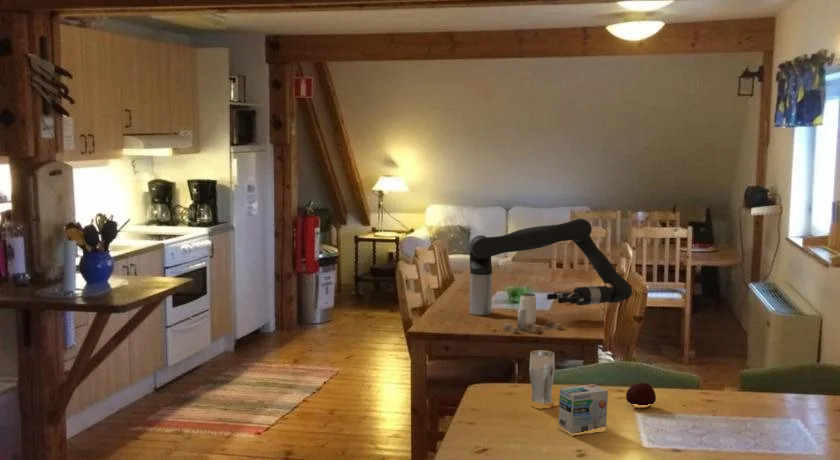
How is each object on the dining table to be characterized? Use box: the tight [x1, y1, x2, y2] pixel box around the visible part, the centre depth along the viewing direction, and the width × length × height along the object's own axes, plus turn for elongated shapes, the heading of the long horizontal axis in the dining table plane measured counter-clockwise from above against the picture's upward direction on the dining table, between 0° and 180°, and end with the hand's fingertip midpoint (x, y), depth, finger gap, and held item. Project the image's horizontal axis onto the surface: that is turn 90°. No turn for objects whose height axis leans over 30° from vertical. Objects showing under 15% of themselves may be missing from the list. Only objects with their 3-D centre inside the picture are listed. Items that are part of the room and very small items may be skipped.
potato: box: [625, 382, 657, 405], centre depth 233 cm, size 7×8×7 cm
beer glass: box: [528, 349, 556, 404], centre depth 233 cm, size 7×7×15 cm
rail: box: [502, 319, 563, 335], centre depth 325 cm, size 9×21×3 cm, turn 112°
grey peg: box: [517, 308, 526, 331], centre depth 323 cm, size 3×3×8 cm
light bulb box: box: [558, 383, 609, 434], centre depth 214 cm, size 11×7×11 cm, turn 114°
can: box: [519, 292, 537, 324], centre depth 339 cm, size 6×6×12 cm
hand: (552, 298), depth 342 cm, fingers open, 8 cm apart
